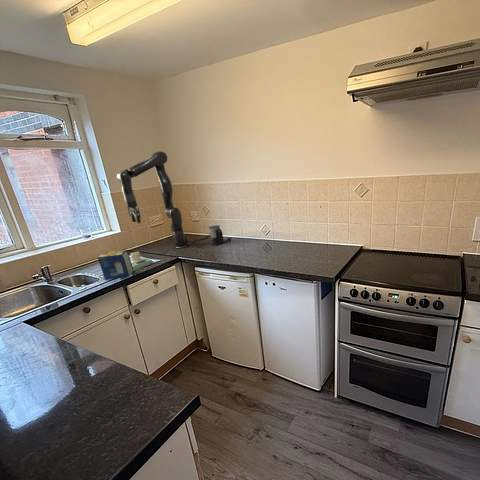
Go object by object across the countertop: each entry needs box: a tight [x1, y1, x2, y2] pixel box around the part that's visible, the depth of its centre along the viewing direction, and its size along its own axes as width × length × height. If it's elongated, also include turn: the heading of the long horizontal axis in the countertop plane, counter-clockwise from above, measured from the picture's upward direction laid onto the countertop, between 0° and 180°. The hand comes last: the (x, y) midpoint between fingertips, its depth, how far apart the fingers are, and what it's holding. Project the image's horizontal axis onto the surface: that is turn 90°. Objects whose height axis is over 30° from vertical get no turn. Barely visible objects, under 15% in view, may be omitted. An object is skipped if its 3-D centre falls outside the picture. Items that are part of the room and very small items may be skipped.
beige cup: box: [129, 251, 142, 261], centre depth 218 cm, size 6×6×5 cm
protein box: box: [96, 249, 135, 280], centre depth 196 cm, size 10×15×16 cm
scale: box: [130, 256, 153, 270], centre depth 218 cm, size 14×17×3 cm
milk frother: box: [208, 224, 233, 246], centre depth 248 cm, size 14×16×15 cm
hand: (136, 222), depth 225 cm, fingers open, 8 cm apart
